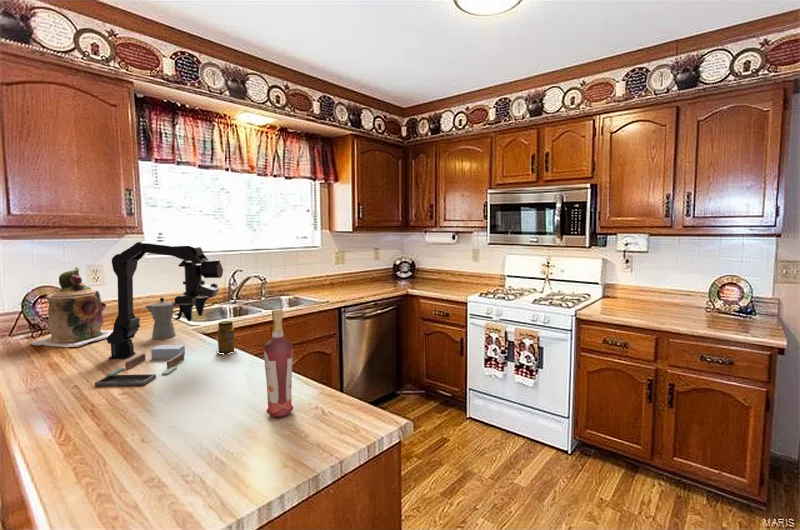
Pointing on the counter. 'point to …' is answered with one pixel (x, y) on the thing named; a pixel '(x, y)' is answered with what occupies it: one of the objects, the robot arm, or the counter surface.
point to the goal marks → (123, 369)
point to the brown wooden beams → (141, 358)
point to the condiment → (226, 338)
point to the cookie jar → (74, 314)
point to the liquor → (278, 369)
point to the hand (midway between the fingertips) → (195, 318)
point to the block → (167, 351)
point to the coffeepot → (163, 319)
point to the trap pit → (125, 380)
